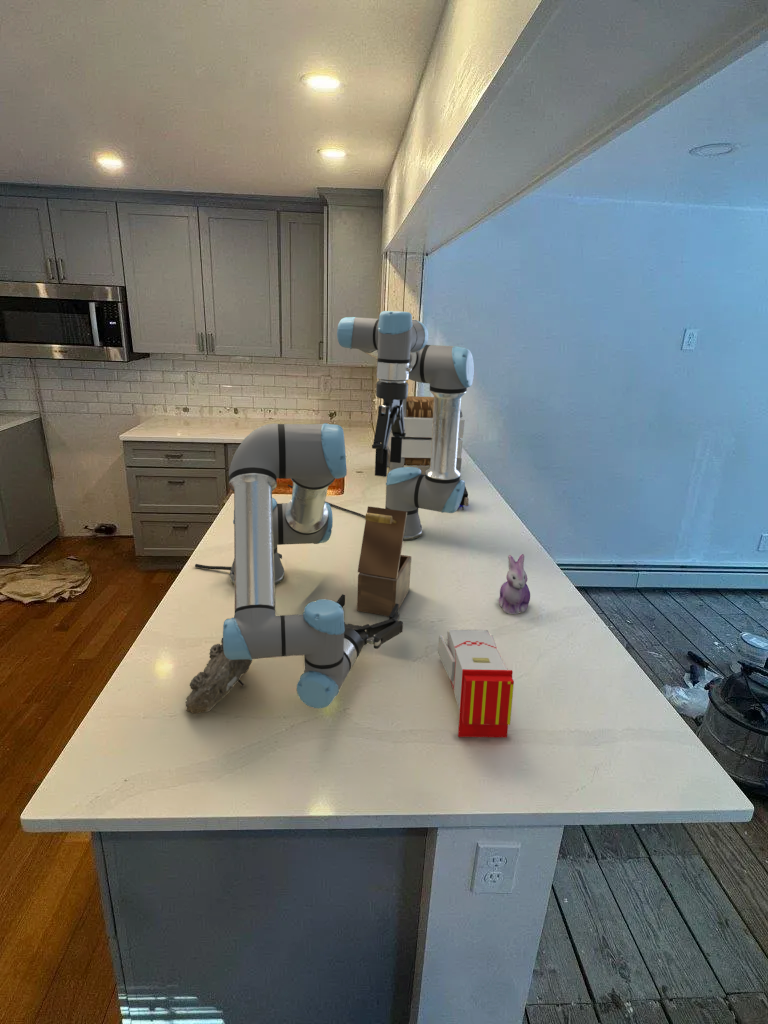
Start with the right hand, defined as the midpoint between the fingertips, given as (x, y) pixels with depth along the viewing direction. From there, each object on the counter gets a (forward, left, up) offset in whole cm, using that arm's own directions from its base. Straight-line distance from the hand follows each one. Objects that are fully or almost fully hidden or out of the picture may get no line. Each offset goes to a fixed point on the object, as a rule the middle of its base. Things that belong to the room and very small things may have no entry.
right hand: (388, 468), depth 140 cm
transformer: (-87, +98, -38) cm, 137 cm away
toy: (+40, -10, -38) cm, 55 cm away
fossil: (+7, -48, -38) cm, 62 cm away
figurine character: (-43, +78, -38) cm, 97 cm away
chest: (-1, +2, -38) cm, 38 cm away
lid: (+1, -2, -19) cm, 19 cm away
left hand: (+7, -10, -31) cm, 33 cm away
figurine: (+23, +28, -38) cm, 52 cm away
